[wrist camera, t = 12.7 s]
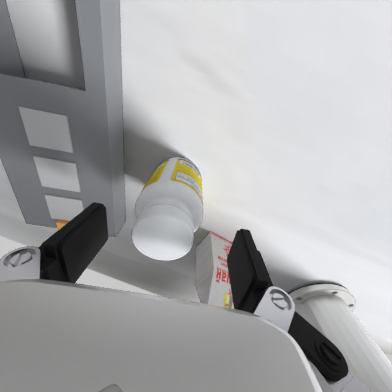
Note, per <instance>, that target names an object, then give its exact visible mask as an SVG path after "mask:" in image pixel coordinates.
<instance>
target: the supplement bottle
mask: <svg viewBox="0 0 392 392" xmlns="http://www.w3.org/2000/svg"><path fill="white" fill-rule="evenodd" d="M135 214H136V218H137V220H136V222H135V224H134V226H133V229H132V233H131V236H132V241H133V244H134V245H135V247H136V248H137V249H138V250H139V251H140V252H141V253H142V254H144V255H146V256H147V257H150V258H152V259H156V260H163V261H169V260H175V259H178V258H181V257H182V256H184V255H186V254H187V253H188V252H189V251H190V249H191V247H192V245H193V238H194V232H195V231H196V230H197V229H198V227H199V226H200V224H201V222H202V218H203V196H202V179H201V174H200V172H199V170H198V168H197V167H196V166H195V164H193V163H192V162H191V161H189V160H187V159H185V158H180V157H173V158H169V159H166V160H165V161H163V162H162V163H161V164H160V165H159V166H158V167H157V168H156V170H155V171H154V173H153V175H152V176H151V178H150V179H149V181H148V182H147V184H146V185H145V187H144V188H143V190H142V191H141V193H140V195H139V197H138V199H137V201H136V205H135Z"/></svg>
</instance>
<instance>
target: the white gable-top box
mask: <svg viewBox="0 0 392 392" xmlns="http://www.w3.org/2000/svg"><path fill="white" fill-rule="evenodd" d="M231 246H232V243H231V242H230V241H228V240H226V239H224V238H222V237H220V236H218V235H216V234H214V233H212V232H211V231H210V233H209V234H208V235H207V236H206V237H205V238H204V239H203V240H202V241H201V243H200V244H199V245H198V246H197V247H196V270H195V287H196V290H197V293H198V296H199V299H200V302H201V303H204V304H210V305H215V306H221V307H226V308H232V309H234V305H233V298H232V292H231V285H230V279H229V272H228V265H227V256H228V254H229V251H230V248H231Z"/></svg>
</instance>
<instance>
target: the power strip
mask: <svg viewBox="0 0 392 392" xmlns="http://www.w3.org/2000/svg"><path fill="white" fill-rule="evenodd" d="M75 3H76V12H77V20H78V29H79V38H80V46H81V55H82V63H83V72H84V80H85V89H86V90H83V89H78V88H73V87H68V86H64V85H59V84H54V83H49V82H45V81H40V80H35V79H30V78H25V74H24V71H23V67H22V63H21V59H20V55H19V51H18V47H17V43H16V40H15V36H14V32H13V28H12V24H11V20H10V16H9V12H8V9H7V5H6V1H5V0H0V158H1V160H2V163H3V166H4V168H5V171H6V173H7V176H8V178H9V181H10V183H11V186H12V188H13V191H14V193H15V196H16V199H17V201H18V204H19V206H20V209H21V211H22V214H23V216H24V219H25V221H26V223H27V224H33V225H40V226H47V227H53V228H58V230H60V229H61V228H62V227H63V226H64V225H66V224H67V223H68V222H69V221H71V220H72V219H73V218H74V217H76V216H77V215H78V214H79V213H81V212H82V211H83V210H84V209H85V208H87V207H88V206H89V205H90V204H92V203H93V202H96V203H101V204H103V205H104V206H105V207H106V213H107V226H108V236H113V237H116V235H117V234H118V232H119V231H120V229H121V228H122V226H123V224H124V223H125V221H126V219H125V181H124V143H123V105H122V68H121V30H120V0H75Z"/></svg>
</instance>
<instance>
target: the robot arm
mask: <svg viewBox="0 0 392 392" xmlns="http://www.w3.org/2000/svg"><path fill="white" fill-rule="evenodd" d="M107 239H108V226H107V213H106V207H105V206H104V205H103V204H101V203H96V202H93V203H92V204H90V205H89V206H88V207H87V208H85V209H84V210H83V211H82V212H81V213H79V214H78V215H77V216H76V217H74V218H73V219H72V220H71V221H69V222H68V223H67V224H66V225H64V226H63V227H62V228H61V229H60V230H58V231H57V232H56V233H55V234H53V235H52V236H51V237H50V238H48V239H47V240H46V241H45V242H43V243H42V245H41V246H40V247H39V248H37V247H34V246H27V247H21V248H18V249H15V250H13V251H11V252H9V253H7V254H6V255H4V256H3V257H2V258H1V259H0V392H392V364H391V362H390V361H389V360H388V358H387V357H386V356H385V354H384V353H383V352H382V350H381V349H380V348H379V346H378V345H377V344H376V342H375V341H374V340H373V338H372V337H371V336H370V334H369V333H368V332H367V330H366V329H365V327H364V326H363V325H362V323H361V322H360V321H359V319H358V318H357V317H356V315H355V314H354V313H353V309H354V308H355V304H356V301H355V298H354V296H353V295H352V294H351V293H350V292H349V291H348V290H347V289H346V288H344V287H341V286H339V285H333V284H316V285H310V286H306V287H303V288H300V289H298V290H295V291H293V292H291V293H290V294H288V293H287V292H285V291H284V290H283V289H281V288H279V287H275V286H273V284H272V282H271V279H270V277H269V274H268V272H267V269H266V267H265V264H264V261H263V259H262V256H261V254H260V252H259V251H257V249H256V246H255V244H254V241H253V238H252V236H251V233H250V231H249V230H245V229H240V230H238V231H237V233H236V236H235V238H234V241H233V243H232V246H231V248H230V251H229V254H228V256H227V265H228V272H229V279H230V285H231V292H232V298H233V305H234V309H232V308H226V307H221V306H215V305H210V304H204V303H198V302H192V301H186V300H179V299H173V298H167V297H161V296H154V295H148V294H142V293H135V292H129V291H123V290H116V289H110V288H102V287H96V286H90V285H83V284H76V283H75V282H76V281H77V279H78V278H79V277H80V276H81V274H82V273H83V272H84V270H85V269H86V268H87V266H88V265H89V264H90V262H91V261H92V260H93V258H94V257H95V256H96V254H97V253H98V252H99V251H100V249H101V248H102V247H103V245H104V244H105V243H106V241H107Z"/></svg>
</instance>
